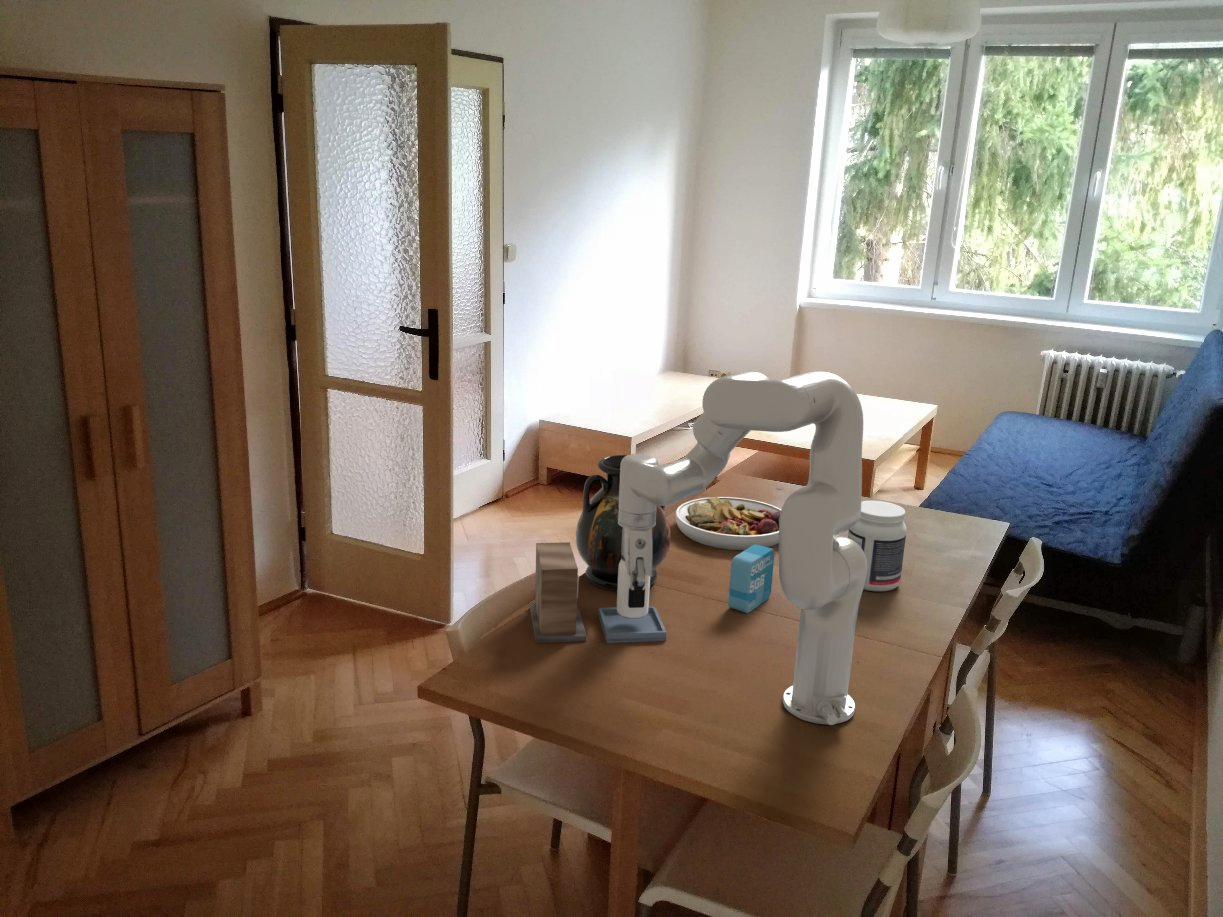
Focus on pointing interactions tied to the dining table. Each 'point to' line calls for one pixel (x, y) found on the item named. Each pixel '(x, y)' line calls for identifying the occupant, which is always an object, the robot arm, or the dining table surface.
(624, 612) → the can
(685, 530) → the bowl
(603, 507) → the amphora vase
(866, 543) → the supplement tub
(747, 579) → the data package
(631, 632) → the tray
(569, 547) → the block
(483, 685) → the dining table surface
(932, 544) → the dining table surface
